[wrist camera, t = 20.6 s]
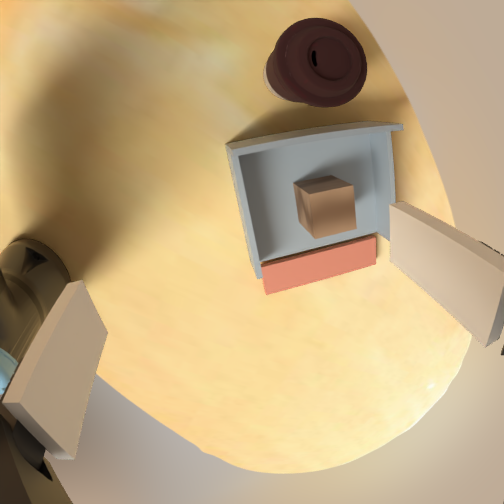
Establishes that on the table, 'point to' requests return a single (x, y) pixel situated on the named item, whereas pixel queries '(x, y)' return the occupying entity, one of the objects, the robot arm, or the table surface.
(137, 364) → the table surface
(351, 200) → the walnut block
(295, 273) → the panel
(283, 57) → the coffee cup
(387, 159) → the truck bed
